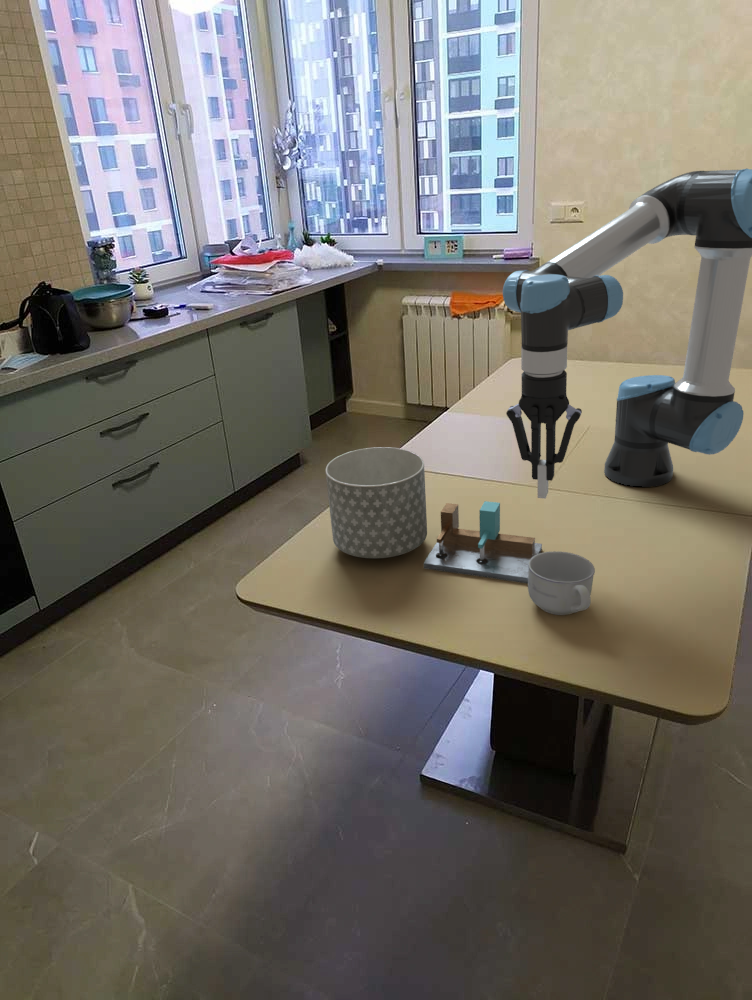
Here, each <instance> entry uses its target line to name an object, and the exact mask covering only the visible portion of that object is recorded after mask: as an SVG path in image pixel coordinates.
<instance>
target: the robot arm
mask: <svg viewBox="0 0 752 1000" xmlns="http://www.w3.org/2000/svg"><path fill="white" fill-rule="evenodd" d="M673 236H695V241H694V249H695V250H696V251H697V252H698V253H699V255H700V257H701V259H700V264H699V265H700V266H699V271H698V278H697V284H696V291H695V298H694V302H693V303H694V304H693V310H692V311H693V312H692V316H691V324H690V330H689V336H688V342H687V348H686V349H687V350H686V356H685V363H684V369H683V376H682V378H680V379H679V380H678V381H677V382H676V380H675V378H673V377H672V376H670V375H661V374H653V375H649V374H648V375H640V376H635V377H634V376H633V377H630V378H628V379H625V380H624V381H622V382H621V383H620V384H619V387H618V394H617V397H616V411H615V412H616V413H615V414H616V415H615V428H614V429H615V430H614V442H613V444H612V446H611V449H610V451H609V453H608V455H607V458H606V460H605V462H604V469H603V470H604V471H603V472H604V473H605V474H604V476H605V475H606V476H607V477H608V478H609V479H608V478H607V477H606V476H605V477H606V478H607V479H608V480H610V479H611V480H610V481H612V482H614V481H615V482H614V483H616V482H617V483H616V484H619V483H621V484H620V485H622V484H624V486H627V485H630V486H629V487H633V486H642V487H641V488H652V487H651V486H654V487H659V486H663V485H665V483H666V484H668V483H669V482H670V481H671V480H672V479H673V476H674V475H673V474H674V465H673V464H674V463H673V461H672V457H671V452H670V449H669V444H671V445H673V446H678V447H680V448H684V449H686V450H689V451H691V452H693V453H701V454H704V455H715V454H719V453H720V452H722V451H724V450H725V449H726V448H728V446H729V445H730V444H731V443H732V442H733V441H734V439H735V438H736V436H737V435H738V433H739V432H740V429H741V426H742V424H743V421H744V410H743V406H742V405H741V404H740V403H739V402H738V401H734V399H735V392H736V388H735V387H734V386H733V385H732V383H731V382H730V375H731V370H732V369H731V368H732V364H733V357H734V352H735V346H736V342H737V336H738V330H739V324H740V320H741V314H742V306H743V302H744V295H745V292H746V285H747V279H748V276H749V267H750V264H751V258H752V169H749V168H743V169H725V170H724V169H720V170H694V171H689V172H686V173H683V174H682V173H681V174H679V175H677V176H675V177H672V178H670V179H668V180H666V181H664V182H662V183H660V184H658V185H656V186H654V187H652V188H651V189H650V190H648V191H646V192H644V193H642V194H641V195H639V196H638V197H636V198H635V199H633V201H632V202H631V203H630V205H629V206H628V209H627V210H625V211H624V212H623V213H621V214H620V215H618V216H617V217H615V218H613V219H612V220H610V221H609V222H607V223H605V224H604V225H603V226H601V227H599V228H598V229H596V230H595V231H593V232H591V233H590V234H588V235H587V236H585V237H584V238H582V239H581V240H579V241H578V242H575V243H574V244H573V245H571V246H570V247H568V248H567V249H565V250H563V251H562V252H560V253H559V254H558V255H555V256H554V257H552V258H551V259H549V260H548V261H546V262H544V263H543V264H541V265H540V266H538V267H537V268H534V269H533V270H528V269H524V270H515V271H513V272H512V273H511V274H510V275H508V276H507V278H506V280H505V282H504V284H503V287H502V297H503V301H504V304H505V306H506V307H507V308H508V309H509V310H511V311H513V312H517V313H520V325H521V326H520V328H521V336H520V337H521V351H520V352H521V353H520V354H521V356H520V357H521V360H520V361H521V363H520V364H521V366H520V367H521V370H522V371H523V372H522V373H521V397H520V399H519V400H518V403H517V404H515V405H510V406H509V408H508V409H507V411H506V417H507V418H508V419H509V420H510V422H511V424H512V428H513V432H514V435H515V439H516V442H517V446H518V449H519V454H520V458H521V460H522V461H525V462H526V461H528V462H530V463H531V479H532V480H537V499H546V498H547V497H548V494H549V482H550V481H551V482H552V481H553V480H554V476H555V465H556V464H557V463H563V461H564V459H565V457H566V454H567V451H568V447H569V444H570V441H571V437H572V433H573V430H574V427H575V424H576V423H577V422H578V421H579V419H580V417H581V416H582V411H583V410H582V409H581V408H579V407H578V408H575V407H574V406H572V405H571V404H570V400H569V398H568V396H567V384H568V383H567V379H568V378H567V375H568V373H567V371H566V369H567V367H568V340H569V339H568V337H569V331H571V330H575V329H578V328H583V327H585V326H589V325H593V324H598V323H603V321H606V320H608V319H611V318H614V316H616V315H617V314H618V313H619V312H620V310H621V308H622V306H623V302H624V291H623V287H622V285H621V283H620V281H618V279H617V278H615V277H614V276H612V275H609V274H603V273H605V272H607V271H608V270H610V269H612V268H613V267H614V266H616V265H617V264H619V263H620V262H622V261H624V260H625V259H626V258H628V257H629V256H631V255H633V254H634V253H635V252H637V251H639V250H640V249H641V248H643V247H644V246H646V245H648V244H651V245H652V244H657V243H659V242H661V241H663V240H665V239H666V238H669V237H673ZM565 412H566V416H565V419H566V420H567V423H566V425H565V428H564V431H563V435H562V438H561V442H560V445H559V448H558V451H557V453H556V426H557V425H556V424H557V422H558V420H559V419H560V418H561V417H562V415H563V414H564V413H565ZM522 414H524V415H525V416H526V418H527V419H528V420H529V421H530V429H531V432H530V433H531V434H530V435H531V438H530V439H531V442H530V443H531V445H530V443H529V440H528V437H527V432H526V429H525V426H524V422H523V418H522ZM542 424H544V425H545V459H541V457H542V453H541V452H542V451H541V448H542V447H541V446H542V445H541V444H542V443H541V442H542V441H541V438H542V437H541V436H542ZM530 446H531V448H530Z"/></svg>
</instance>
